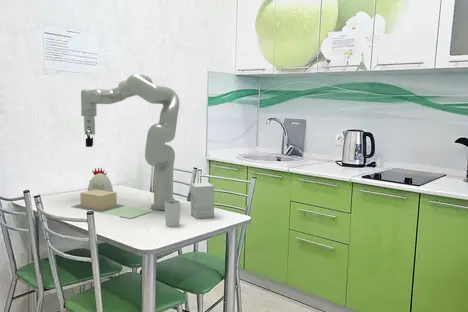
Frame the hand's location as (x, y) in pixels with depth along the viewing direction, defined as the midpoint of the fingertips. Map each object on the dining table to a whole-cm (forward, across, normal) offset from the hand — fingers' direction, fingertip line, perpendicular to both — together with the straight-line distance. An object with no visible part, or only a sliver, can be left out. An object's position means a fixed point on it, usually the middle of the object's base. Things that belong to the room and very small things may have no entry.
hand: (89, 145), depth 215 cm
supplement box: (+29, -45, -51) cm, 74 cm away
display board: (+29, -24, -11) cm, 39 cm away
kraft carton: (+28, -18, -5) cm, 34 cm away
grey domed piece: (+29, +16, -5) cm, 34 cm away
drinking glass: (+29, -57, -36) cm, 73 cm away
